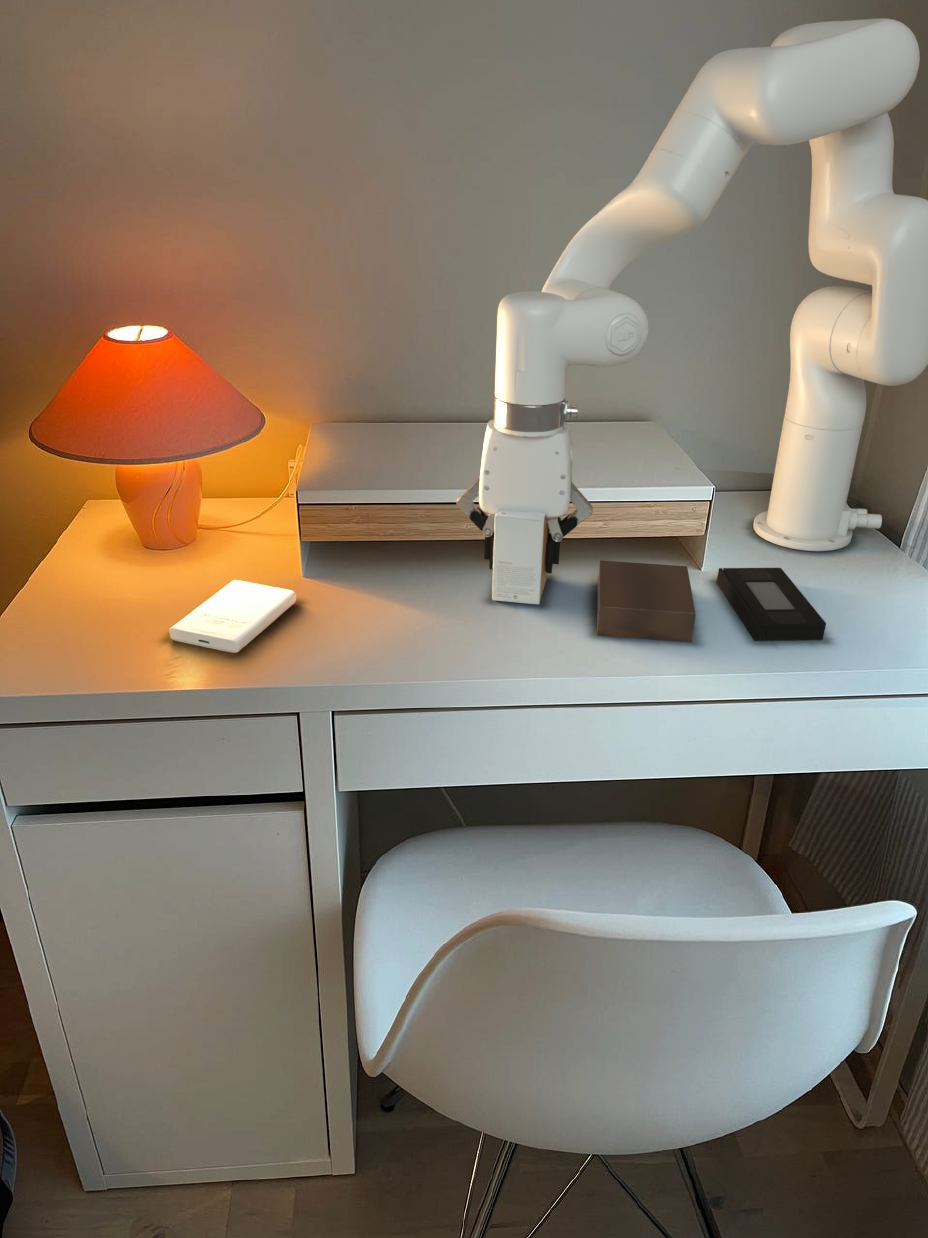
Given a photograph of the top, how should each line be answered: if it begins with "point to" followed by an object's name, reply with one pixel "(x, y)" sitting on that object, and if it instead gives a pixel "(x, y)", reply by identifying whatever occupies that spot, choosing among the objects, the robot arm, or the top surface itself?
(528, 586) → the small box
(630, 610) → the walnut block
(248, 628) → the hard drive
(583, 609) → the top surface
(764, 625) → the vhs tape
